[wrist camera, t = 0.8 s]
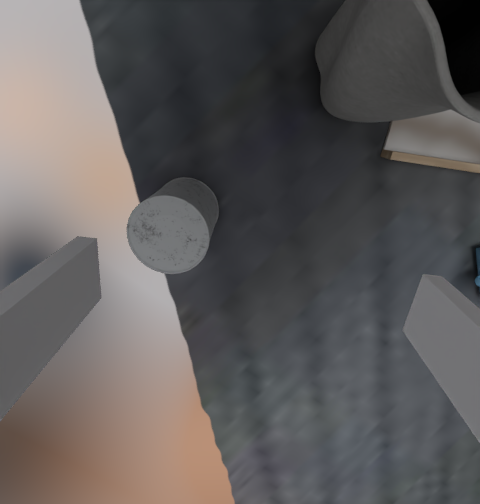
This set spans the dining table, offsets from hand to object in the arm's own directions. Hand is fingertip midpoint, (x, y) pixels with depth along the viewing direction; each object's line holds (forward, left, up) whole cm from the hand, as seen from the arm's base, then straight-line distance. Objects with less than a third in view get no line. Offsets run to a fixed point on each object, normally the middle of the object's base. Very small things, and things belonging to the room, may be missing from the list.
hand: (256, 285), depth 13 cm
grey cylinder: (+7, -9, -36) cm, 37 cm away
